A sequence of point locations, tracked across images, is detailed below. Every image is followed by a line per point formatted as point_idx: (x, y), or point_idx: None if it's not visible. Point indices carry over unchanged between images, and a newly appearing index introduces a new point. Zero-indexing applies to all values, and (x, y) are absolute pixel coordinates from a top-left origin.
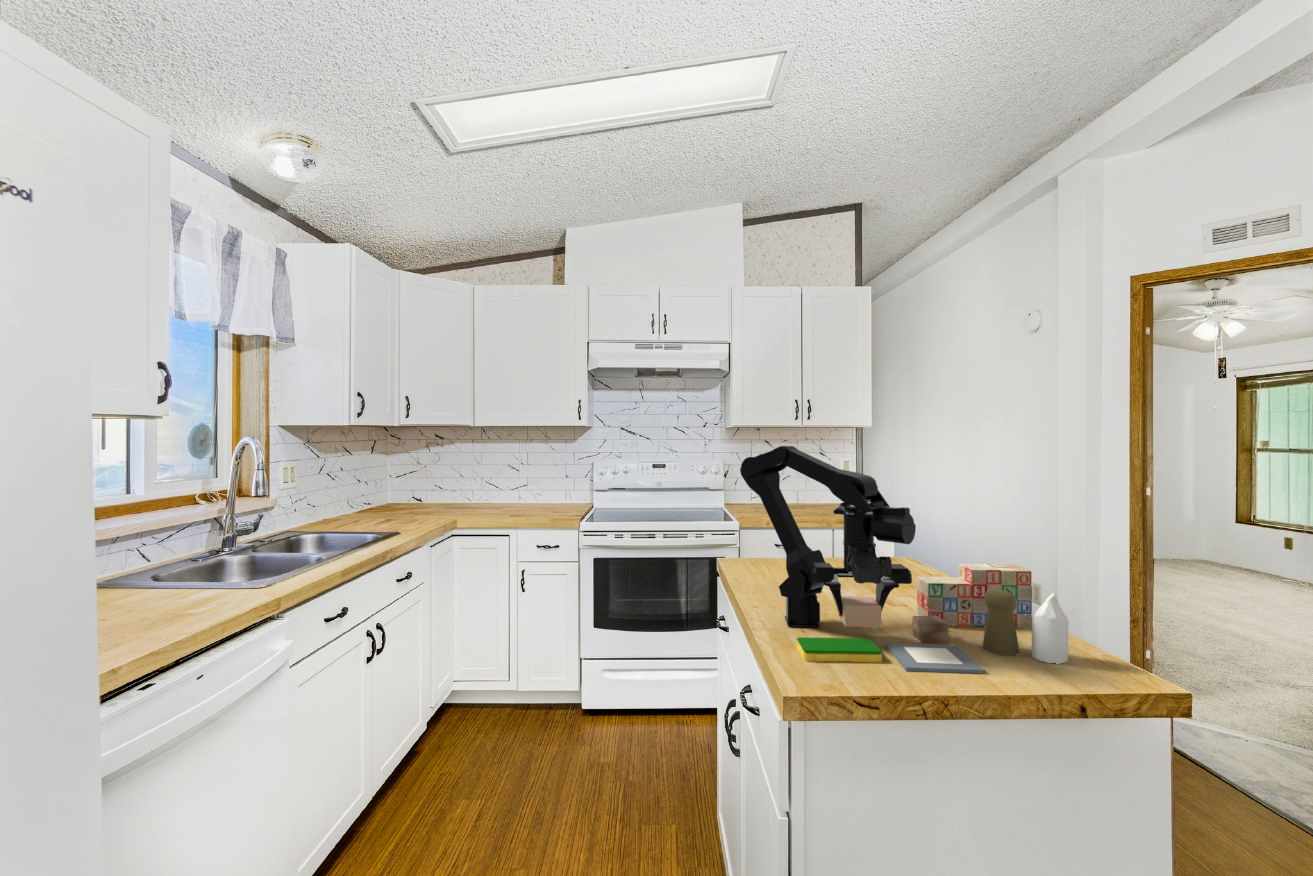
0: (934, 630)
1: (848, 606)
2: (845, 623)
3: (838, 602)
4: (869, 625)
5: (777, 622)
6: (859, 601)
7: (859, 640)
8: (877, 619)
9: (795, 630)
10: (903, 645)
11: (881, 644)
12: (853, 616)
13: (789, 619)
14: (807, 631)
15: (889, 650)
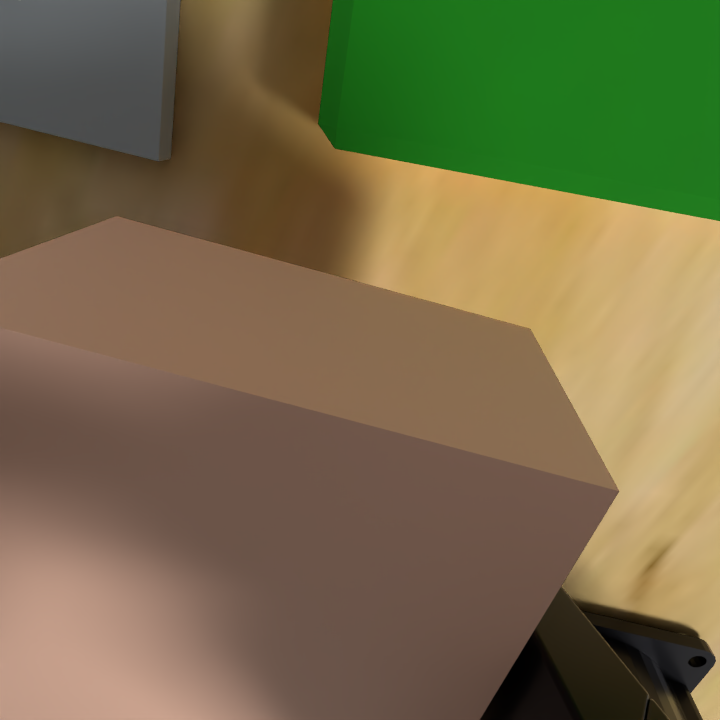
0: None
1: (551, 460)
2: (533, 341)
3: (594, 659)
4: (249, 258)
5: (712, 714)
6: (213, 631)
7: (477, 64)
8: (113, 250)
9: (697, 587)
10: (8, 65)
11: (188, 214)
12: (443, 353)
13: (691, 705)
14: (623, 557)
15: (176, 23)
